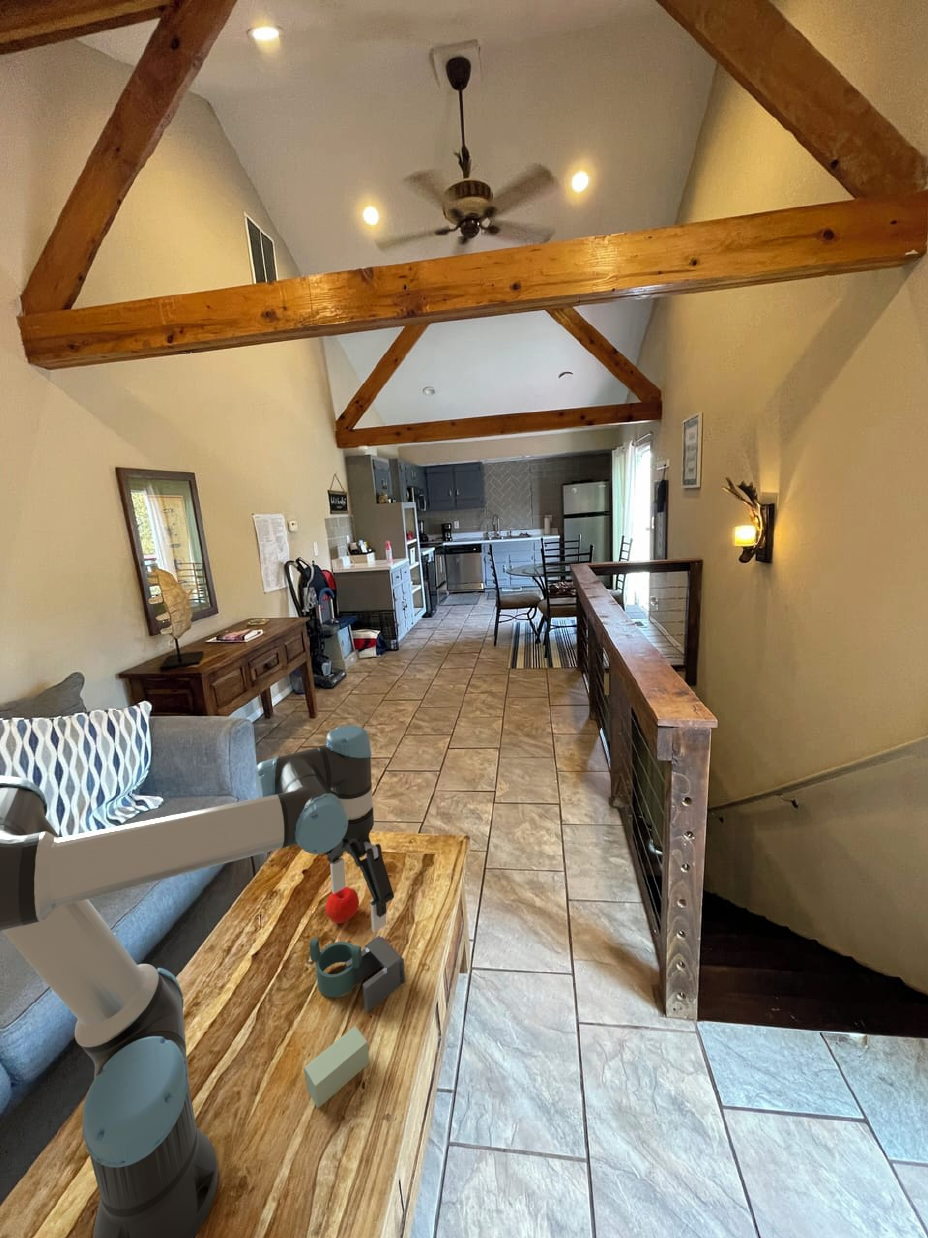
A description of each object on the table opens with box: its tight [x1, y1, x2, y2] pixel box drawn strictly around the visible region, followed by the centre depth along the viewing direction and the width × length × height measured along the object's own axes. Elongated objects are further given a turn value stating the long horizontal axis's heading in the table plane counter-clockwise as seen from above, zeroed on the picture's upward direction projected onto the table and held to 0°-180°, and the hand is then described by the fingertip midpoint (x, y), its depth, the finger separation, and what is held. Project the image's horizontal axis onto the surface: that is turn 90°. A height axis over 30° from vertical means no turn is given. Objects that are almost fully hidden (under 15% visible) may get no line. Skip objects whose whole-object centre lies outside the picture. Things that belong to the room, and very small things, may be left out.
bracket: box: [309, 938, 362, 998], centre depth 105 cm, size 9×9×9 cm
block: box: [303, 1025, 370, 1109], centre depth 88 cm, size 10×4×5 cm, turn 133°
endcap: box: [344, 935, 406, 1013], centre depth 105 cm, size 9×8×7 cm
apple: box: [325, 886, 360, 924], centre depth 122 cm, size 8×8×7 cm
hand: (358, 907), depth 98 cm, fingers open, 13 cm apart
